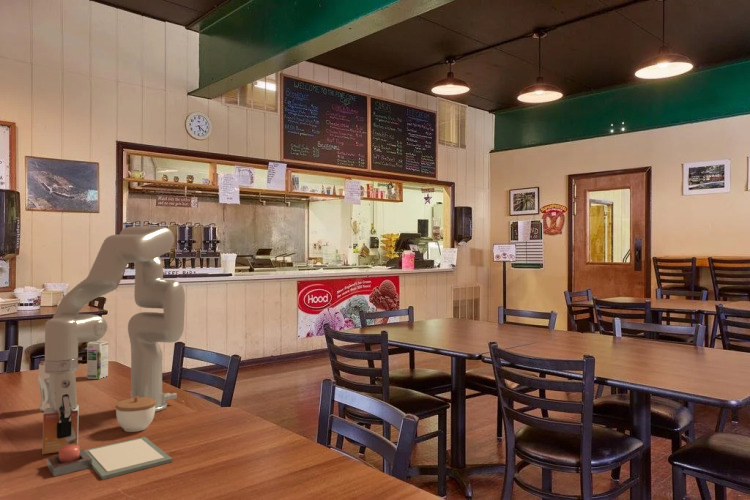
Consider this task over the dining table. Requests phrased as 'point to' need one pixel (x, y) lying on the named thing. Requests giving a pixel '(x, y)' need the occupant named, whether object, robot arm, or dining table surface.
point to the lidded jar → (135, 413)
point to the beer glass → (43, 387)
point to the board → (126, 457)
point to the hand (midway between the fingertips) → (60, 432)
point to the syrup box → (97, 360)
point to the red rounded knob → (69, 453)
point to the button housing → (68, 464)
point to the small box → (50, 431)
